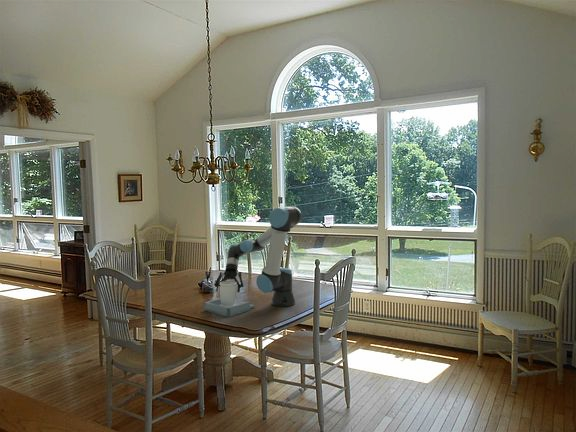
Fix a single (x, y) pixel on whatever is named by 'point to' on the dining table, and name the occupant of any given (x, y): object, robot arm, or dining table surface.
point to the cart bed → (216, 307)
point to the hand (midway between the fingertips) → (227, 296)
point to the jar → (228, 293)
